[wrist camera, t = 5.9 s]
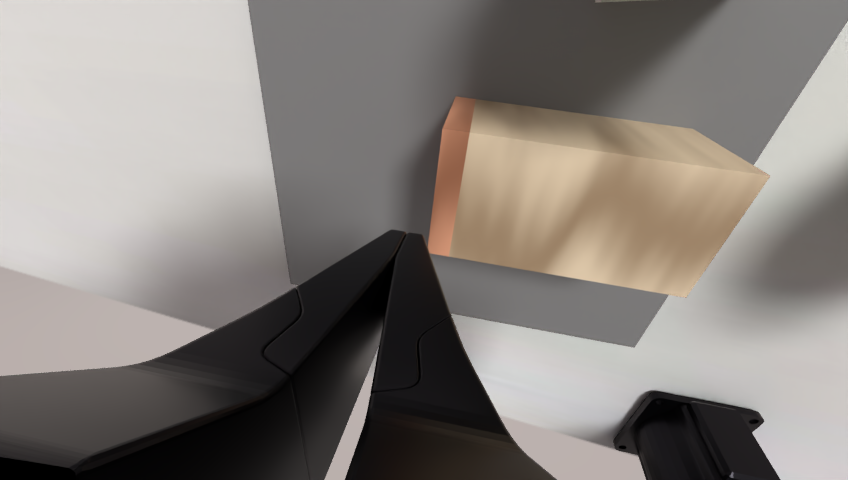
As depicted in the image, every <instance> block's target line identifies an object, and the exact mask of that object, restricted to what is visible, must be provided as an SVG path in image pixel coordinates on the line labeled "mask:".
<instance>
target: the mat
mask: <svg viewBox="0 0 848 480" xmlns="http://www.w3.org/2000/svg"><path fill="white" fill-rule="evenodd" d="M248 5H249V12H250V19H251V25H252V32H253V38H254V45H255V52H256V58H257V65H258V71H259V78H260V84H261V91H262V98H263V104H264V111H265V117H266V124H267V131H268V137H269V144H270V150H271V157H272V164H273V170H274V177H275V183H276V190H277V196H278V203H279V210H280V216H281V223H282V229H283V236H284V243H285V249H286V256H287V262H288V269H289V276H290V282H291V284H296V285H300V284H301V283H303V282H305V281H306V280H308V279H310V278H311V277H313V276H315V275H316V274H318V273H319V272H321V271H323V270H324V269H326V268H328V267H329V266H331V265H333V264H334V263H336V262H338V261H339V260H341V259H343V258H344V257H346V256H348V255H349V254H351V253H352V252H354V251H356V250H357V249H359V248H361V247H362V246H364V245H366V244H367V243H369V242H371V241H372V240H374V239H376V238H377V237H379V236H381V235H382V234H384V233H386V232H387V231H389V230H391V229H394V230H400V231H404V232H406V234H407V233H408V232H411V233H417V234H422V235H423V236H424V239H425V241H426V244H427V247H428V241H429V233H430V225H431V217H432V209H433V201H434V193H435V185H436V177H437V169H438V161H439V153H440V145H441V137H442V129H443V126H444V124H445V121H446V119H447V116H448V114H449V112H450V109H451V107H452V104H453V102H454V99H455V97H456V96H457V97H464V98H472V99H479V100H486V101H493V102H501V103H508V104H515V105H523V106H530V107H537V108H544V109H552V110H559V111H566V112H574V113H581V114H588V115H596V116H603V117H610V118H617V119H625V120H632V121H639V122H647V123H654V124H661V125H669V126H676V127H683V128H690V129H694V130H696V131H697V132H699V133H701V134H702V135H704V136H706V137H707V138H709V139H711V140H712V141H714V142H715V143H717V144H719V145H720V146H722V147H724V148H725V149H727V150H729V151H730V152H732V153H734V154H735V155H737V156H738V157H740V158H742V159H743V160H745V161H747V162H748V163H750V164H752V165H754V164H755V162H756V160H757V159H758V157H759V156H760V154H761V153H762V151H763V150H764V148H765V147H766V145H767V144H768V142H769V141H770V139H771V138H772V136H773V134H774V133H775V131H776V130H777V128H778V127H779V125H780V124H781V122H782V121H783V119H784V118H785V116H786V115H787V113H788V112H789V110H790V108H791V107H792V105H793V104H794V102H795V101H796V99H797V98H798V96H799V95H800V93H801V92H802V90H803V89H804V87H805V85H806V84H807V82H808V81H809V79H810V78H811V76H812V75H813V73H814V72H815V70H816V69H817V67H818V66H819V64H820V63H821V61H822V59H823V58H824V56H825V55H826V53H827V52H828V50H829V49H830V47H831V46H832V44H833V43H834V41H835V40H836V38H837V36H838V35H839V33H840V32H841V30H842V29H843V27H844V26H845V24H846V23H847V21H848V0H645V1H621V2H597V3H595V0H248ZM430 256H431V259H432V261H433V264H434V267H435V270H436V273H437V276H438V279H439V281H440V284H441V287H442V290H443V293H444V296H445V299H446V302H447V304H448V307H449V310H450V313H452V314H457V315H463V316H468V317H473V318H479V319H484V320H489V321H495V322H500V323H505V324H511V325H516V326H522V327H527V328H532V329H538V330H543V331H548V332H554V333H559V334H564V335H570V336H575V337H581V338H586V339H591V340H597V341H602V342H607V343H613V344H618V345H623V346H629V347H635V346H636V344H637V343H638V341H639V340H640V338H641V337H642V335H643V333H644V332H645V330H646V329H647V327H648V326H649V324H650V323H651V321H652V320H653V318H654V317H655V315H656V314H657V312H658V311H659V309H660V307H661V306H662V304H663V303H664V301H665V300H666V298H667V297H668V294H662V293H656V292H650V291H644V290H639V289H633V288H627V287H621V286H616V285H610V284H604V283H598V282H593V281H587V280H581V279H575V278H570V277H564V276H558V275H552V274H547V273H541V272H535V271H529V270H523V269H518V268H512V267H506V266H500V265H495V264H489V263H483V262H477V261H472V260H466V259H460V258H454V257H449V256H443V255H437V254H431V253H430Z"/></svg>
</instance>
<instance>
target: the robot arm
mask: <svg viewBox="0 0 848 480" xmlns="http://www.w3.org/2000/svg"><path fill="white" fill-rule="evenodd" d="M378 346H379V350H378V355H377V361H376V366H375V372H374V378H373V383H372V389H371V396H370V400H369V405H368V410H367V415H366V419H365V423H364V426H363V430H362V432H361V435H360V438H359V441H358V444H357V446H356V449H355V452H354V455H353V458H352V461H351V464H350V466H349V469H348V472H347V475H346V478H345V480H557V479H555V478H554V477H553V476H552V475H551V474H549V473H548V472H547V471H546V470H545V469H543V468H542V467H541V466H540V465H539V464H537V463H536V462H535V461H534V460H533V459H531V458H530V457H529V456H528V455H527V454H526V453H524V451H522V449H521V448H520V447H519V446H518V445H517V443H516V442H515V441H514V440H513V438H512V437H511V435H510V434H509V432H508V431H507V429H506V428H505V426H504V424H503V422H502V420H501V419H500V417H499V415H498V413H497V411H496V409H495V407H494V405H493V404H492V402H491V400H490V398H489V396H488V394H487V392H486V390H485V388H484V387H483V385H482V383H481V381H480V379H479V377H478V375H477V373H476V372H475V370H474V368H473V366H472V364H471V362H470V360H469V358H468V356H467V354H466V351H465V349H464V347H463V345H462V342H461V340H460V337H459V335H458V332H457V330H456V327H455V324H454V321H453V319H452V318H451V313H450V310H449V307H448V304H447V302H446V299H445V296H444V293H443V290H442V287H441V284H440V281H439V279H438V276H437V273H436V270H435V267H434V264H433V261H432V259H431V256H430V253H429V250H428V247H427V244H426V241H425V239H424V236H423V235H422V234H417V233H411V232H408V233H407V234H406V232H404V231H400V230H394V229H391V230H389V231H387V232H386V233H384V234H382V235H381V236H379V237H377V238H376V239H374V240H372V241H371V242H369V243H367V244H366V245H364V246H362V247H361V248H359V249H357V250H356V251H354V252H352V253H351V254H349V255H348V256H346V257H344V258H343V259H341V260H339V261H338V262H336V263H334V264H333V265H331V266H329V267H328V268H326V269H324V270H323V271H321V272H319V273H318V274H316V275H315V276H313V277H311V278H310V279H308V280H306V281H305V282H303V283H301V284H300V285H298V286H297V287H296V288H293V289H291V290H289V291H288V292H286V293H285V294H283V295H281V296H280V297H278V298H276V299H274V300H273V301H271V302H269V303H267V304H266V305H264V306H262V307H260V308H258V309H256V310H254V311H253V312H251V313H249V314H247V315H245V316H243V317H241V318H239V319H237V320H235V321H233V322H231V323H229V324H227V325H225V326H223V327H221V328H219V329H217V330H215V331H213V332H211V333H209V334H207V335H204V336H202V337H200V338H198V339H196V340H194V341H192V342H190V343H188V344H187V345H184V346H182V347H180V348H178V349H176V350H174V351H172V352H170V353H167V354H165V355H163V356H161V357H158V358H155V359H152V360H149V361H146V362H142V363H139V364H134V365H129V366H122V367H113V368H100V369H87V370H74V371H61V372H49V373H35V374H22V375H9V376H0V480H324V479H325V476H326V474H327V472H328V469H329V467H330V464H331V462H332V459H333V457H334V454H335V452H336V449H337V447H338V445H339V442H340V440H341V437H342V435H343V432H344V430H345V427H346V425H347V422H348V420H349V417H350V415H351V412H352V410H353V408H354V405H355V403H356V400H357V398H358V395H359V393H360V390H361V388H362V385H363V383H364V380H365V378H366V376H367V373H368V371H369V368H370V366H371V363H372V361H373V358H374V356H375V353H376V351H377V348H378ZM763 422H764V419H763V418H762V416H761V415H760V413H759V412H757V411H754V410H748V409H743V408H738V407H733V406H728V405H723V404H718V403H713V402H707V401H702V400H697V399H692V398H687V397H682V396H677V395H672V394H666V393H661V392H654V393H651V394H650V395H648V397H647V398H646V399H645V401H644V402H643V403H642V404H641V406H640V407H639V408H638V410H637V411H636V412H635V413H634V415H633V416H632V417H631V419H630V420H629V421H628V422H627V424H626V425H625V426H624V428H623V429H622V430H621V431H620V433H619V434H618V435H617V437H616V438H615V439H614V441H613V443H614V446H615V449H616V450H619V451H623V452H628V453H632V454H637V455H638V456H639V459H640V462H641V465H642V468H643V471H644V474H645V477H646V480H780V478H779V477H778V475H777V473H776V472H775V470H774V469H773V467H772V465H771V464H770V462H769V460H768V459H767V457H766V455H765V454H764V452H763V450H762V449H761V447H760V446H759V444H758V442H757V441H756V439H755V437H754V436H753V434H752V432H753V431H754V430H755V429H757V428H758V427H759V426H760V425H761V424H762V423H763Z"/></svg>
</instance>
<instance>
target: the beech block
mask: <svg viewBox="0 0 848 480" xmlns="http://www.w3.org/2000/svg"><path fill="white" fill-rule="evenodd" d="M769 177H770V175H768V174H766V173H765V172H763V171H761V170H760V169H758V168H757V167H755V166H753V165H752V164H750V163H748V162H747V161H745V160H743V159H742V158H740V157H738V156H737V155H735V154H734V153H732V152H730V151H729V150H727V149H725V148H724V147H722V146H720V145H719V144H717V143H715V142H714V141H712V140H711V139H709V138H707V137H706V136H704V135H702V134H701V133H699V132H697V131H696V130H694V129H690V128H683V127H676V126H669V125H661V124H654V123H647V122H639V121H632V120H625V119H617V118H610V117H603V116H596V115H588V114H581V113H574V112H566V111H559V110H552V109H544V108H537V107H530V106H523V105H515V104H508V103H501V102H493V101H486V100H479V99H472V98H464V97H457V96H456V97H455V99H454V102H453V104H452V107H451V109H450V112H449V114H448V116H447V119H446V121H445V124H444V126H443V129H442V137H441V145H440V153H439V161H438V169H437V177H436V185H435V193H434V201H433V209H432V217H431V225H430V233H429V241H428V250H429V253H431V254H437V255H443V256H449V257H454V258H460V259H466V260H472V261H477V262H483V263H489V264H495V265H500V266H506V267H512V268H518V269H523V270H529V271H535V272H541V273H547V274H552V275H558V276H564V277H570V278H575V279H581V280H587V281H593V282H598V283H604V284H610V285H616V286H621V287H627V288H633V289H639V290H644V291H650V292H656V293H662V294H668V295H673V296H679V297H685V298H686V297H687V296H688V294H689V293H690V291H691V290H692V288H693V287H694V285H695V284H696V283H697V281H698V280H699V278H700V277H701V275H702V274H703V272H704V271H705V270H706V268H707V267H708V265H709V264H710V262H711V261H712V260H713V258H714V257H715V255H716V254H717V252H718V251H719V249H720V248H721V247H722V245H723V244H724V242H725V241H726V239H727V238H728V236H729V235H730V234H731V232H732V231H733V229H734V228H735V226H736V225H737V223H738V222H739V221H740V219H741V218H742V216H743V215H744V213H745V212H746V211H747V209H748V208H749V206H750V205H751V203H752V202H753V200H754V199H755V198H756V196H757V195H758V193H759V192H760V190H761V189H762V187H763V186H764V185H765V183H766V182H767V180H768V179H769Z"/></svg>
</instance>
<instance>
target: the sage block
mask: <svg viewBox="0 0 848 480" xmlns="http://www.w3.org/2000/svg"><path fill="white" fill-rule="evenodd" d="M621 1H645V0H595V3H597V2H621Z"/></svg>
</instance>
